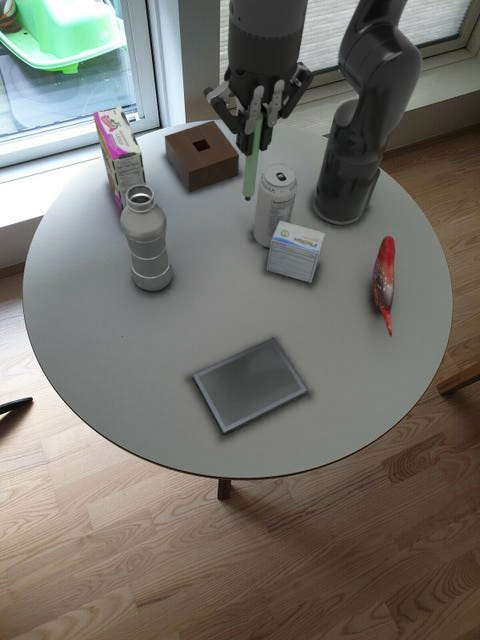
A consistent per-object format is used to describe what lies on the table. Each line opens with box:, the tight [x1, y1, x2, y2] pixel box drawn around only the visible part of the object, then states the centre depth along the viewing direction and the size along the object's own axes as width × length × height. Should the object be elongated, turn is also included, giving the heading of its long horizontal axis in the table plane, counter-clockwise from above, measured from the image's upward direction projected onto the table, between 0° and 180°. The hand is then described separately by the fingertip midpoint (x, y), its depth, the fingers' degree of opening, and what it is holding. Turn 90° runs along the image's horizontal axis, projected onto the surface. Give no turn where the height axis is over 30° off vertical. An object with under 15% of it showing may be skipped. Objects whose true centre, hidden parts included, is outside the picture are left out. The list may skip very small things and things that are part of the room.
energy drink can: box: [252, 162, 299, 249], centre depth 89 cm, size 6×6×15 cm
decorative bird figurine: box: [371, 235, 396, 338], centre depth 85 cm, size 3×18×10 cm, turn 176°
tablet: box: [192, 337, 309, 436], centre depth 81 cm, size 14×10×1 cm
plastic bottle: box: [119, 185, 173, 292], centre depth 81 cm, size 6×7×20 cm
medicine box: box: [266, 220, 326, 284], centre depth 89 cm, size 8×4×9 cm, turn 72°
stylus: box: [242, 112, 263, 202], centre depth 70 cm, size 2×2×14 cm
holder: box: [164, 120, 240, 193], centre depth 102 cm, size 10×10×5 cm
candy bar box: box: [92, 106, 147, 215], centre depth 91 cm, size 11×5×16 cm, turn 23°
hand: (253, 148), depth 68 cm, fingers closed on stylus, 1 cm apart
